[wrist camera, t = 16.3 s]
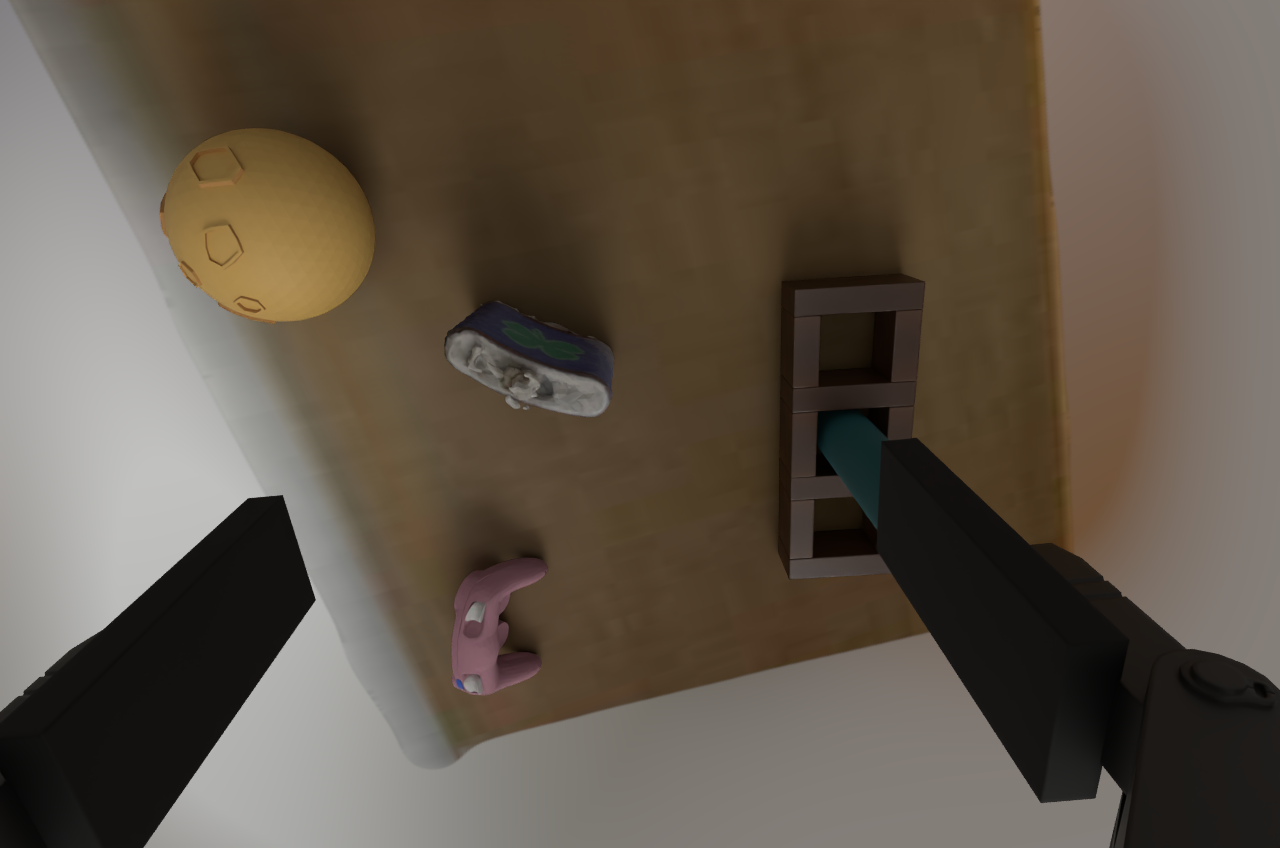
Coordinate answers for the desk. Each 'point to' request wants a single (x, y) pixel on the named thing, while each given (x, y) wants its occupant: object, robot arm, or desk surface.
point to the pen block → (814, 390)
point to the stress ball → (268, 225)
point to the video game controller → (490, 628)
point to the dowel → (853, 454)
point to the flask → (532, 361)
